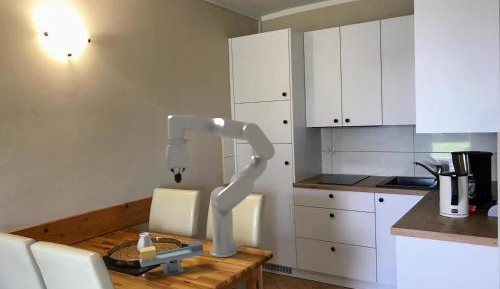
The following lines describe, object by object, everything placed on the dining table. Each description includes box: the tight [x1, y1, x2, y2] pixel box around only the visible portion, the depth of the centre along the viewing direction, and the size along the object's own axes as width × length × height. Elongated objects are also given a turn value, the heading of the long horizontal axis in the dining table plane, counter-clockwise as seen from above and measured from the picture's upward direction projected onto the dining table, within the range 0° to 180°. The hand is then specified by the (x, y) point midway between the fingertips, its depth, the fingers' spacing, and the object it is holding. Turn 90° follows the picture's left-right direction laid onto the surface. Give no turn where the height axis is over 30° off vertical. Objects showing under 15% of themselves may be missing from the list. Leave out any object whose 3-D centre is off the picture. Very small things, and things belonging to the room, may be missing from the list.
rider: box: [139, 245, 157, 262], centre depth 161 cm, size 6×5×4 cm
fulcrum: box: [160, 260, 185, 276], centre depth 165 cm, size 8×12×4 cm, turn 21°
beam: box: [138, 240, 205, 268], centre depth 164 cm, size 26×9×5 cm, turn 111°
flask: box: [142, 235, 152, 248], centre depth 179 cm, size 7×7×10 cm
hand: (178, 182), depth 176 cm, fingers closed
